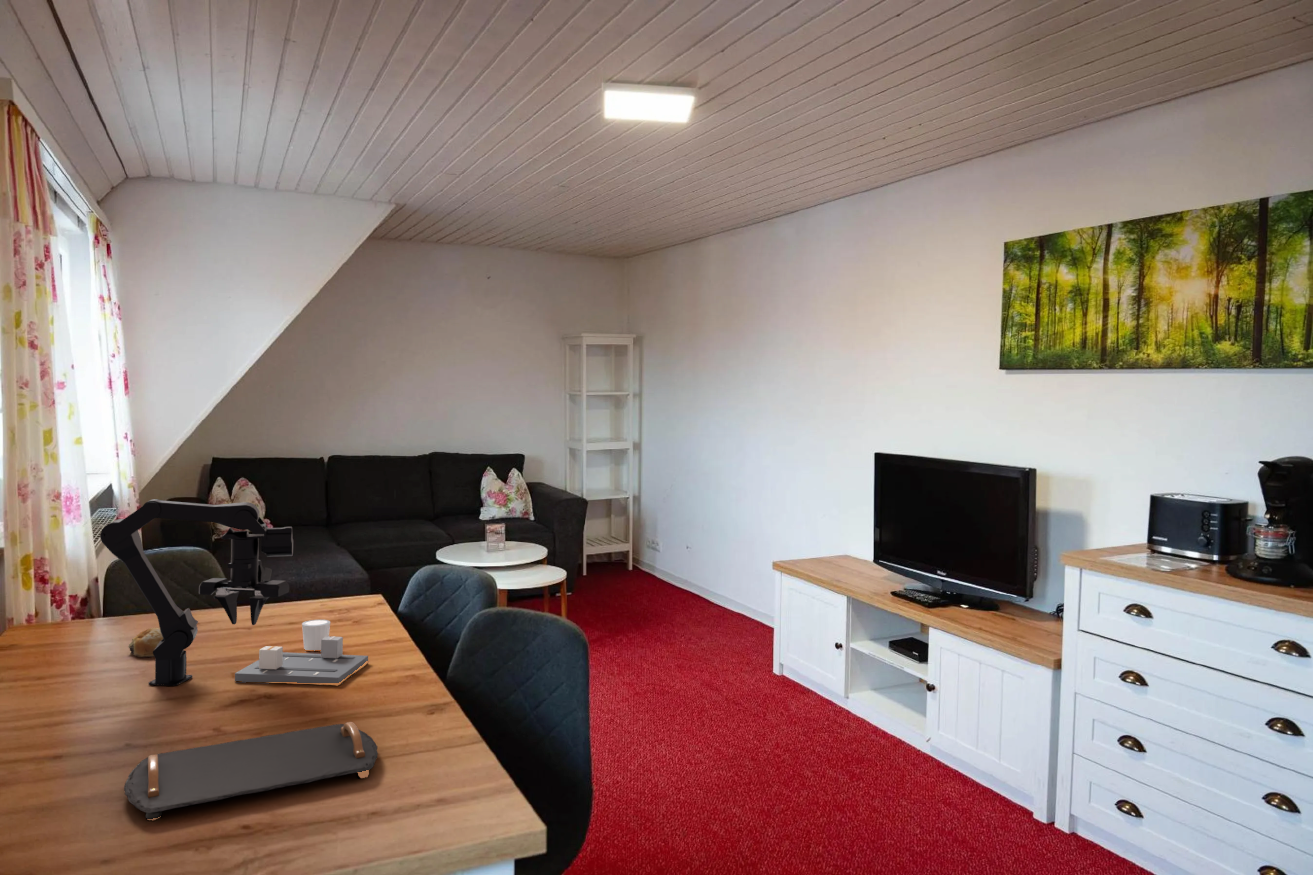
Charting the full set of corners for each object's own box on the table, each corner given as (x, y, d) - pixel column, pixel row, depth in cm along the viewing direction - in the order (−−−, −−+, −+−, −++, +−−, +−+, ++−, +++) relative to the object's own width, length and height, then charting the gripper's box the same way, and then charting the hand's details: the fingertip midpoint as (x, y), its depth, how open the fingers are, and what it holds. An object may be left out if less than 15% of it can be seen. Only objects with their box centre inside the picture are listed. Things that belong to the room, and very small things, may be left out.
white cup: (334, 645, 220) (335, 619, 220) (321, 653, 213) (322, 626, 213) (310, 644, 221) (310, 618, 220) (296, 651, 214) (296, 624, 214)
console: (338, 686, 189) (338, 676, 188) (234, 681, 190) (234, 672, 190) (368, 663, 205) (368, 655, 205) (272, 659, 207) (272, 651, 207)
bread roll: (153, 672, 206) (167, 644, 205) (116, 654, 206) (130, 625, 205) (177, 661, 216) (190, 633, 215) (141, 643, 216) (155, 615, 215)
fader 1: (275, 669, 192) (276, 649, 192) (259, 668, 192) (259, 649, 192) (282, 665, 195) (282, 646, 195) (265, 664, 195) (265, 645, 195)
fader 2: (337, 658, 202) (337, 639, 202) (321, 657, 202) (321, 639, 202) (342, 654, 205) (342, 636, 205) (326, 654, 205) (326, 635, 205)
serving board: (360, 734, 163) (360, 702, 163) (390, 780, 143) (390, 744, 143) (125, 775, 143) (125, 739, 142) (122, 835, 123) (122, 793, 123)
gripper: (300, 552, 201) (299, 617, 201) (225, 550, 202) (224, 614, 202) (277, 561, 190) (276, 629, 190) (197, 558, 191) (197, 626, 191)
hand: (244, 624), depth 194 cm, fingers open, 4 cm apart
